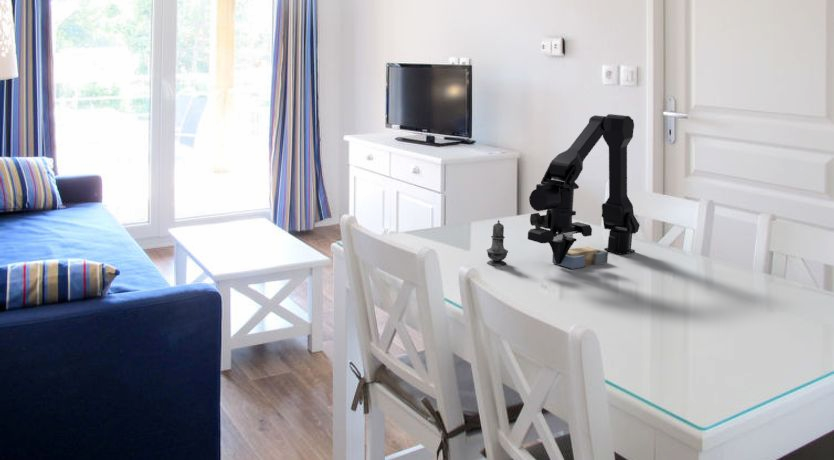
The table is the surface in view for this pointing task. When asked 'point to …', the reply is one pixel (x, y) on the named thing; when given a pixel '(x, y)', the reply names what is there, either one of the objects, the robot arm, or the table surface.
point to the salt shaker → (497, 247)
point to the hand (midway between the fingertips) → (558, 263)
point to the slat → (583, 253)
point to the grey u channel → (600, 257)
